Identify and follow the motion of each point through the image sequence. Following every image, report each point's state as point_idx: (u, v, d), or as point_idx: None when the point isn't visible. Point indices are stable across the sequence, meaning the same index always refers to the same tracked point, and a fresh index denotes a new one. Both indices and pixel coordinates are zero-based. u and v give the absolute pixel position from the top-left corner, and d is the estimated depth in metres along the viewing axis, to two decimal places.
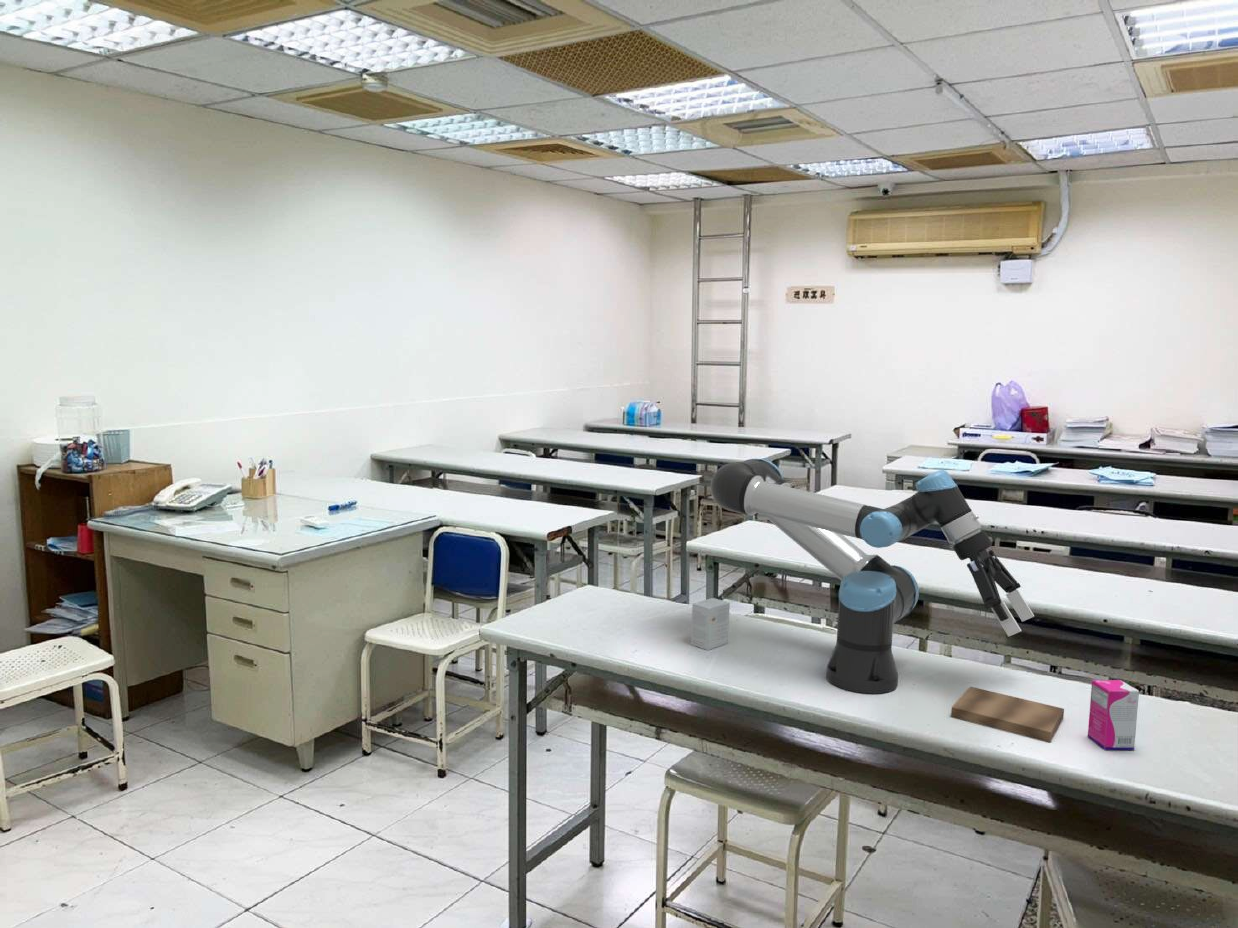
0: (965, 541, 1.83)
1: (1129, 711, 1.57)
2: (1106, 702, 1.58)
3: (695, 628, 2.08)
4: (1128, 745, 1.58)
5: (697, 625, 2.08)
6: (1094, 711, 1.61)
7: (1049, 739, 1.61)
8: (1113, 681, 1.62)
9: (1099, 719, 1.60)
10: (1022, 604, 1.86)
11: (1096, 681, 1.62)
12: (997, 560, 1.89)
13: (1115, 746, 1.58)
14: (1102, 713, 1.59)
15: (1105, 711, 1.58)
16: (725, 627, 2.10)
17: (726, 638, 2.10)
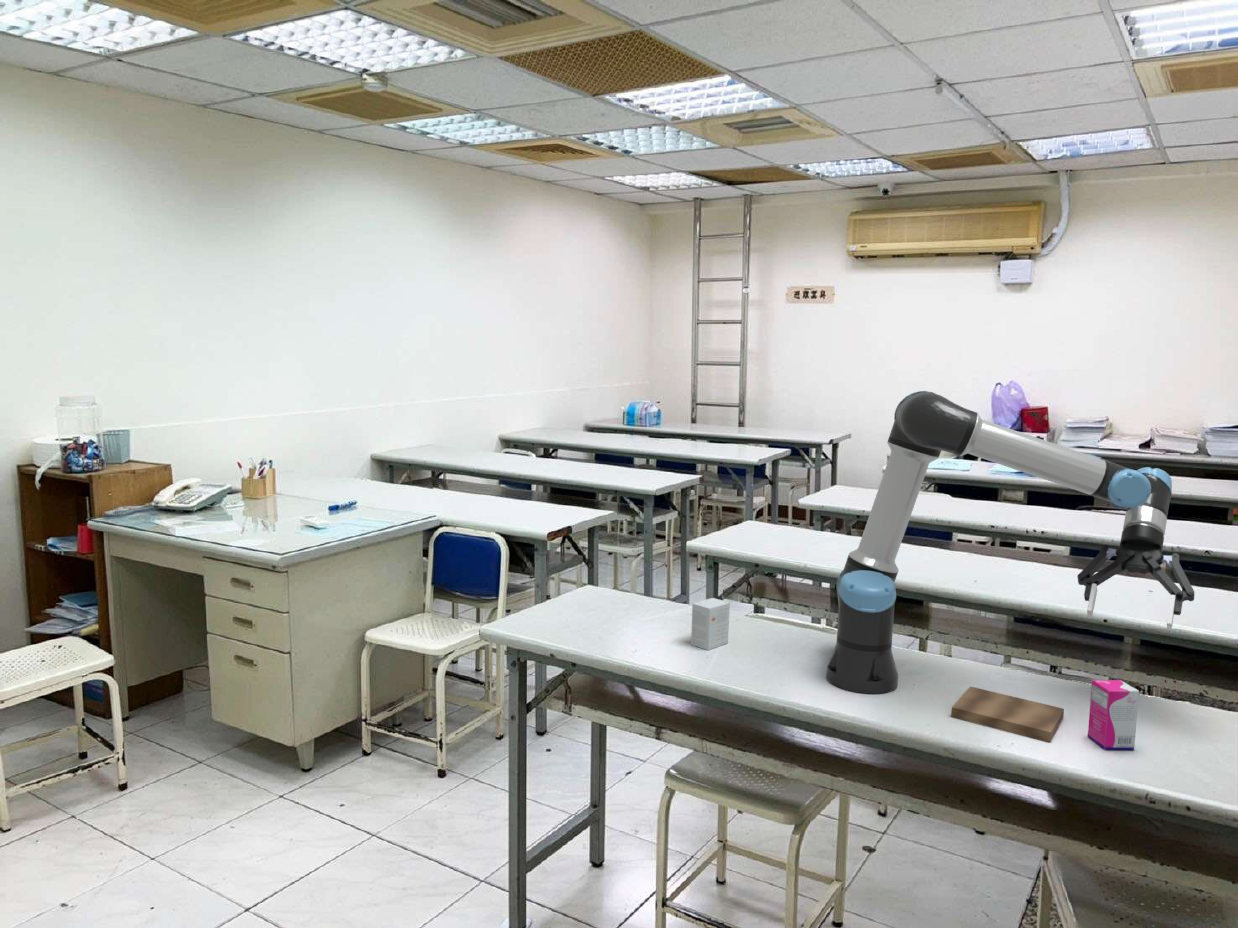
0: None
1: (1129, 711, 1.57)
2: (1106, 702, 1.58)
3: (695, 628, 2.08)
4: (1128, 745, 1.58)
5: (697, 625, 2.08)
6: (1094, 711, 1.61)
7: (1049, 739, 1.61)
8: (1113, 681, 1.62)
9: (1099, 719, 1.60)
10: (1094, 602, 1.75)
11: (1096, 681, 1.62)
12: (1104, 561, 1.80)
13: (1115, 746, 1.58)
14: (1102, 713, 1.59)
15: (1105, 711, 1.58)
16: (725, 627, 2.10)
17: (726, 638, 2.10)
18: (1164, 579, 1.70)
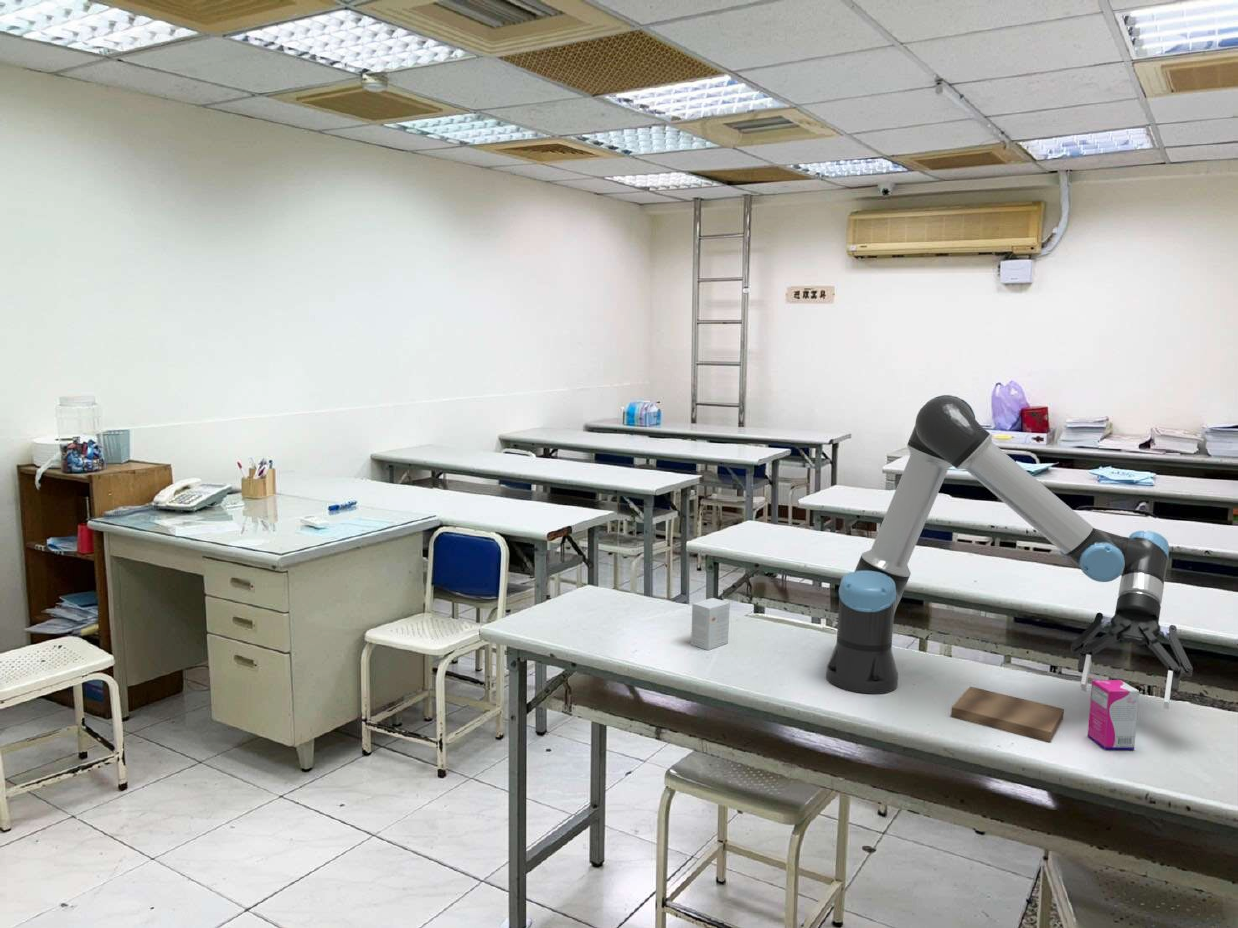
0: None
1: (1129, 711, 1.57)
2: (1106, 702, 1.58)
3: (695, 628, 2.08)
4: (1128, 745, 1.58)
5: (697, 625, 2.08)
6: (1094, 711, 1.61)
7: (1049, 739, 1.61)
8: (1113, 681, 1.62)
9: (1099, 719, 1.60)
10: (1088, 674, 1.68)
11: (1096, 681, 1.62)
12: None
13: (1115, 746, 1.58)
14: (1102, 713, 1.59)
15: (1105, 711, 1.58)
16: (725, 627, 2.10)
17: (726, 638, 2.10)
18: (1161, 653, 1.63)
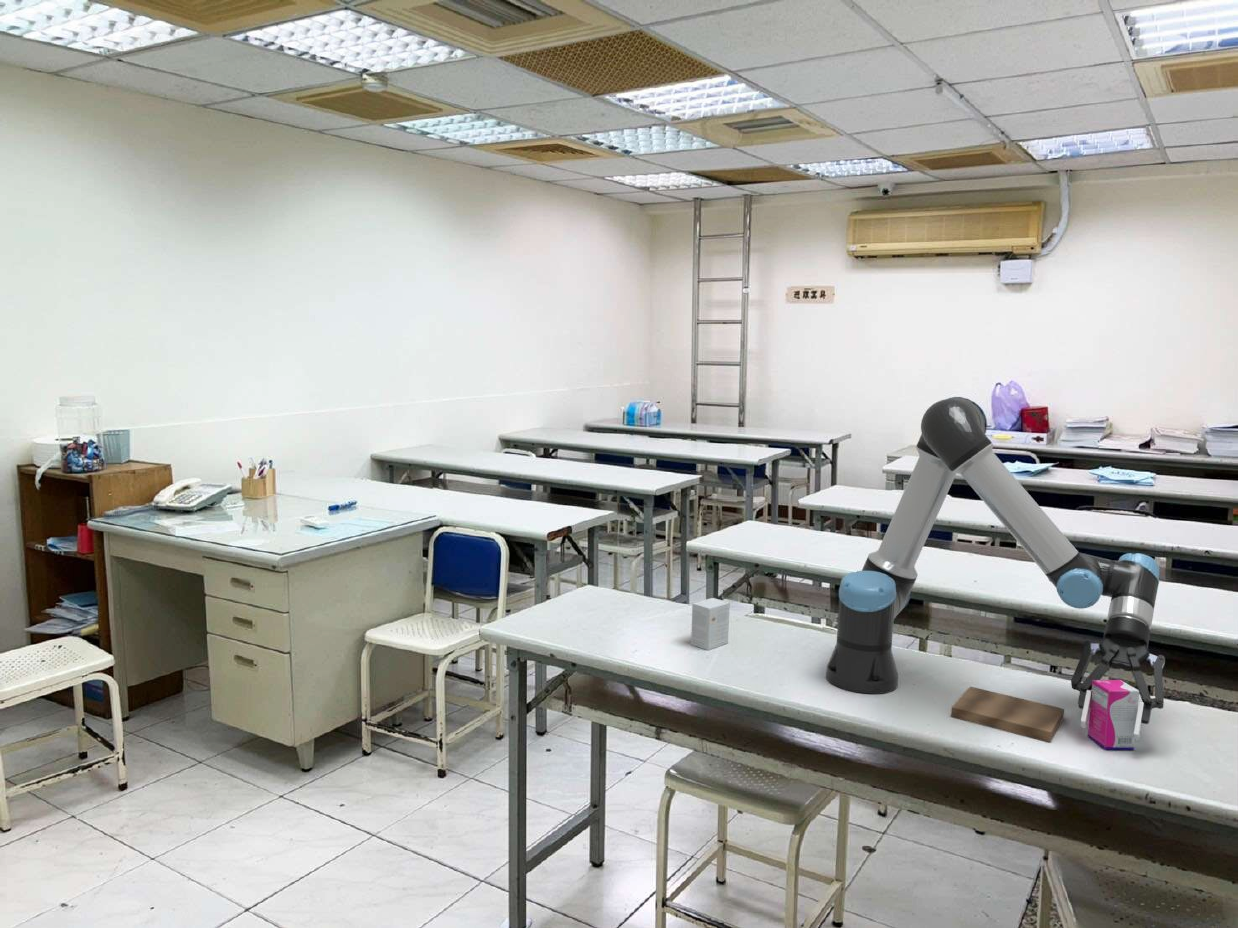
0: None
1: (1129, 711, 1.57)
2: (1106, 702, 1.58)
3: (695, 628, 2.08)
4: (1128, 745, 1.58)
5: (697, 625, 2.08)
6: (1094, 711, 1.61)
7: (1049, 739, 1.61)
8: (1113, 681, 1.62)
9: (1099, 719, 1.60)
10: (1088, 711, 1.62)
11: (1096, 681, 1.62)
12: None
13: (1115, 746, 1.58)
14: (1102, 713, 1.59)
15: (1105, 711, 1.58)
16: (725, 627, 2.10)
17: (726, 638, 2.10)
18: (1138, 682, 1.60)
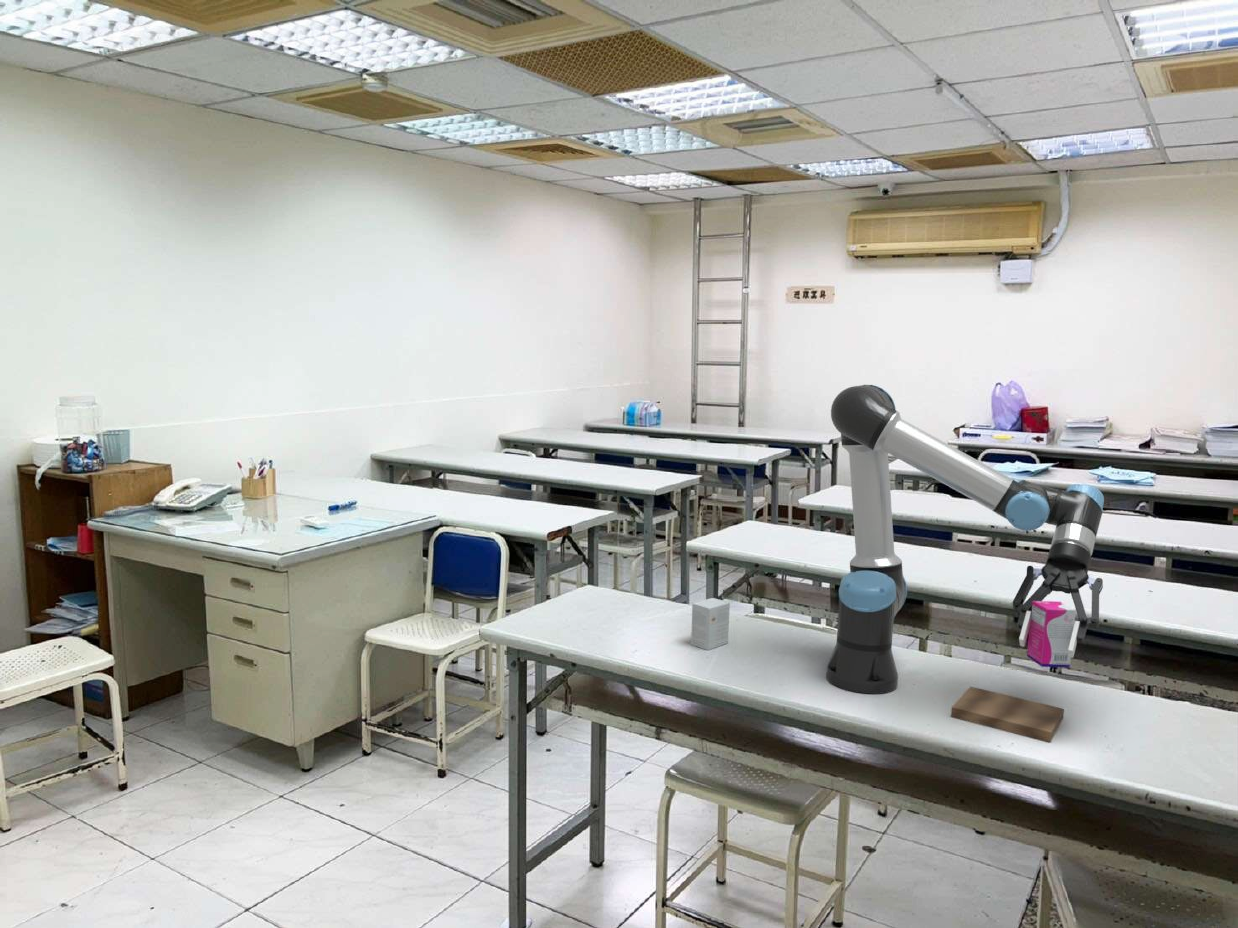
0: None
1: (1066, 629, 1.63)
2: (1043, 620, 1.63)
3: (695, 628, 2.08)
4: (1064, 662, 1.63)
5: (697, 625, 2.08)
6: (1033, 631, 1.67)
7: (1049, 739, 1.61)
8: (1052, 602, 1.67)
9: (1037, 637, 1.65)
10: (1027, 630, 1.67)
11: (1036, 601, 1.67)
12: None
13: (1051, 663, 1.63)
14: (1040, 631, 1.64)
15: (1042, 629, 1.63)
16: (725, 627, 2.10)
17: (726, 638, 2.10)
18: (1076, 603, 1.65)
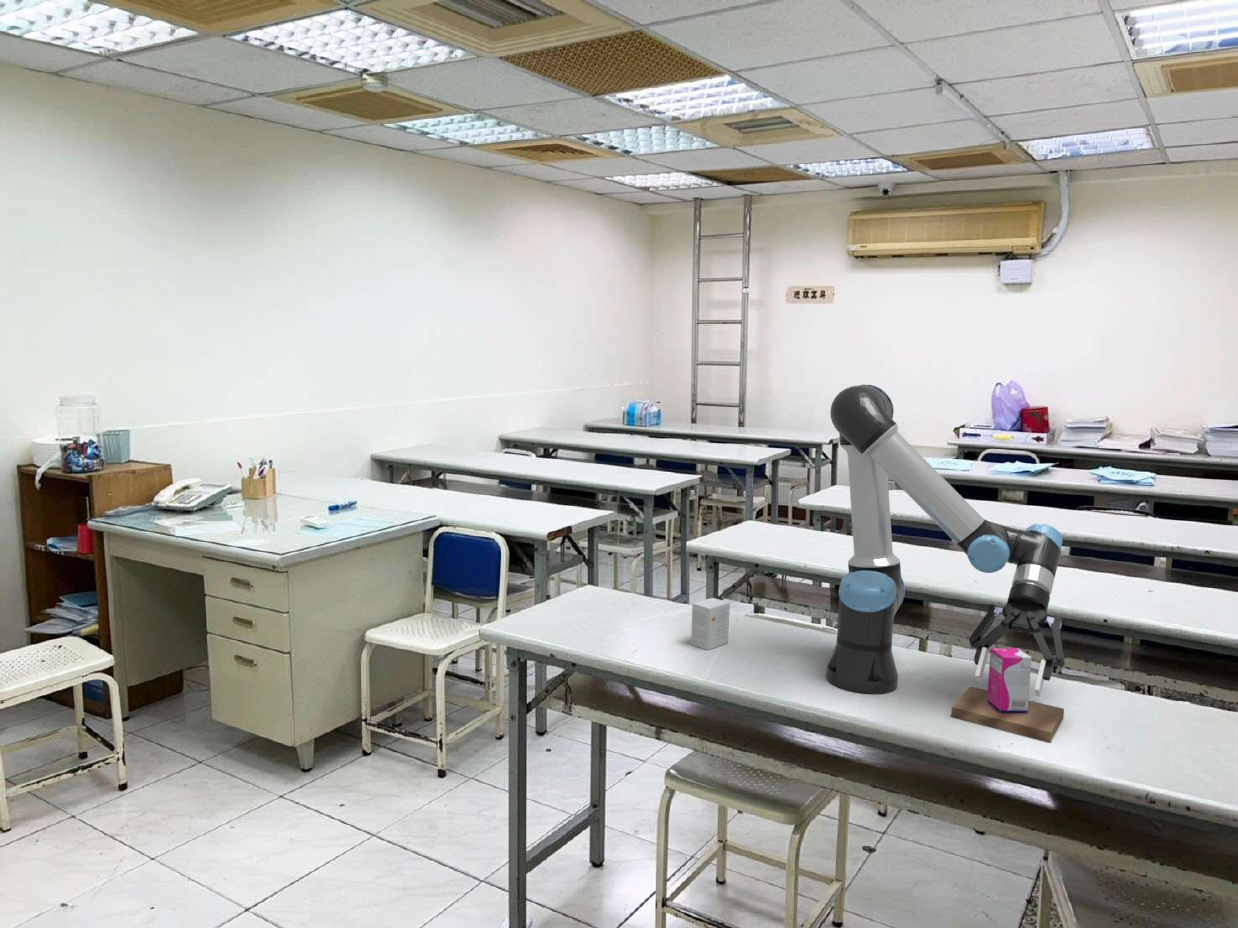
0: None
1: (1022, 676, 1.68)
2: (1001, 668, 1.68)
3: (695, 628, 2.08)
4: (1022, 708, 1.69)
5: (697, 625, 2.08)
6: (992, 677, 1.72)
7: (1049, 739, 1.61)
8: (1010, 649, 1.72)
9: (996, 684, 1.70)
10: (983, 666, 1.73)
11: (994, 649, 1.72)
12: None
13: (1009, 709, 1.68)
14: (998, 678, 1.69)
15: (1000, 676, 1.69)
16: (725, 627, 2.10)
17: (726, 638, 2.10)
18: (1040, 642, 1.70)
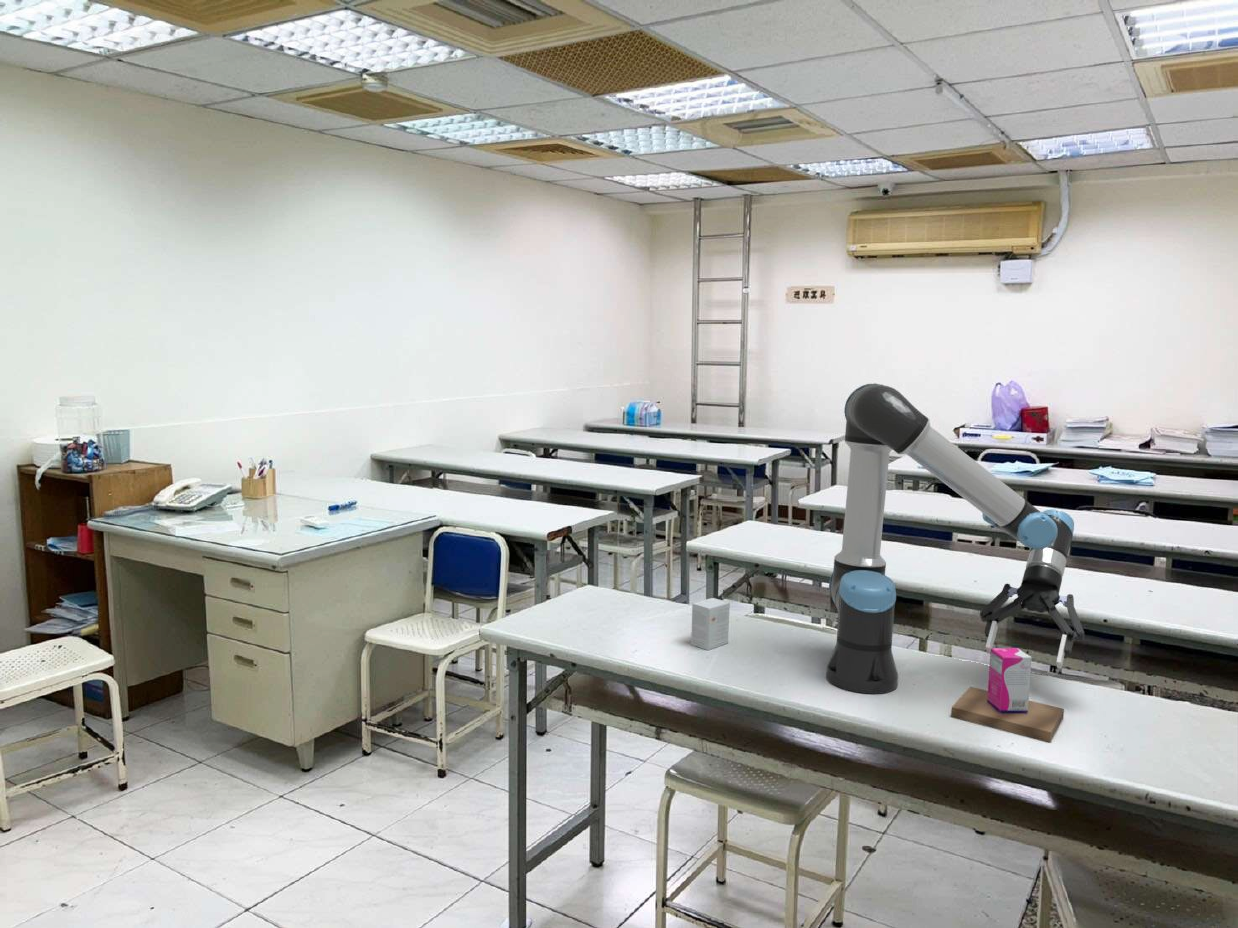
0: (1061, 579, 1.86)
1: (1022, 676, 1.68)
2: (1001, 668, 1.68)
3: (695, 628, 2.08)
4: (1022, 708, 1.69)
5: (697, 625, 2.08)
6: (992, 677, 1.72)
7: (1049, 739, 1.61)
8: (1010, 649, 1.72)
9: (996, 684, 1.70)
10: (993, 639, 1.84)
11: (994, 649, 1.72)
12: None
13: (1009, 709, 1.68)
14: (998, 678, 1.69)
15: (1000, 676, 1.69)
16: (725, 627, 2.10)
17: (726, 638, 2.10)
18: (1058, 619, 1.79)
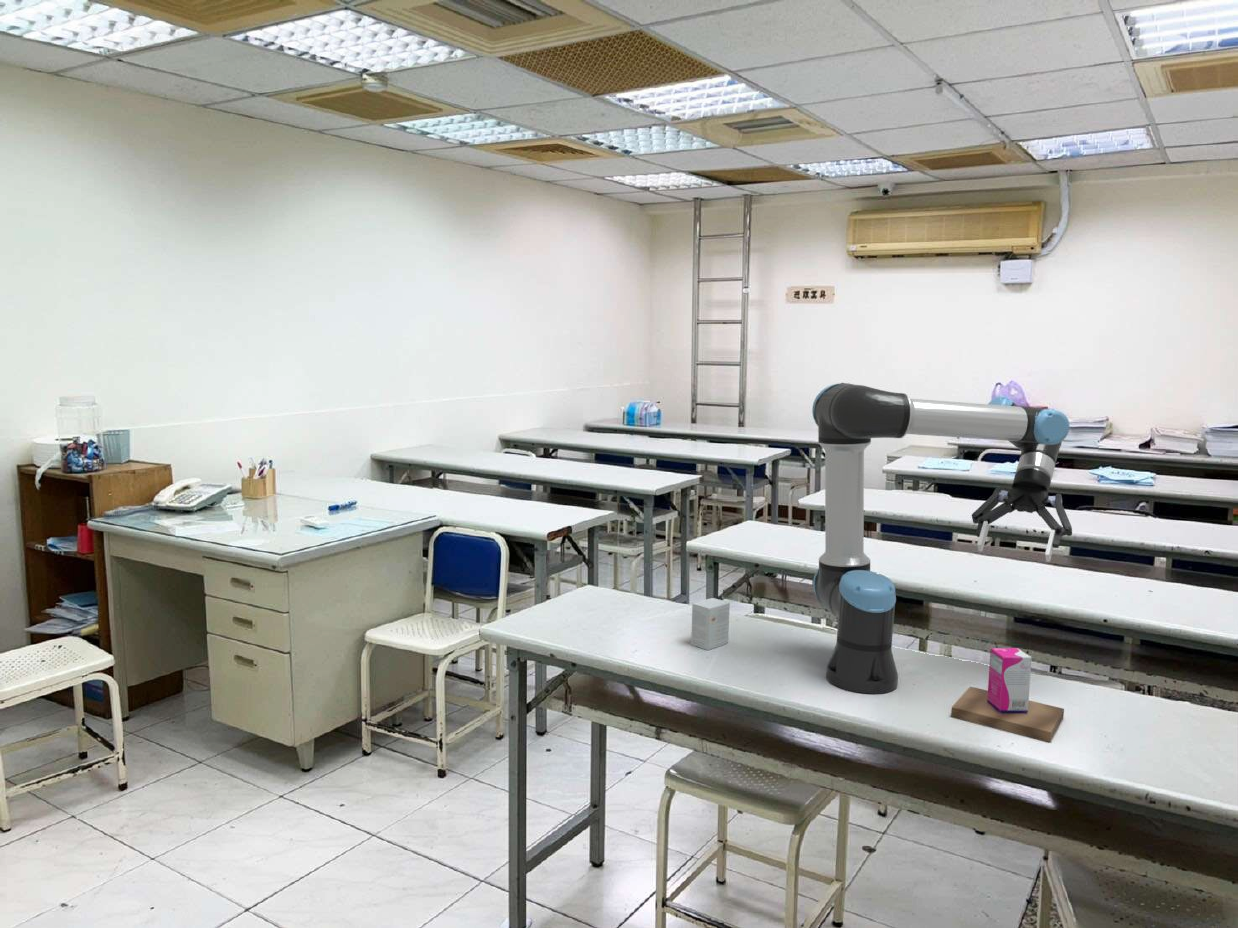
0: None
1: (1022, 676, 1.68)
2: (1001, 668, 1.68)
3: (695, 628, 2.08)
4: (1022, 708, 1.69)
5: (697, 625, 2.08)
6: (992, 677, 1.72)
7: (1049, 739, 1.61)
8: (1010, 649, 1.72)
9: (996, 684, 1.70)
10: (985, 538, 1.91)
11: (994, 649, 1.72)
12: (997, 502, 1.96)
13: (1009, 709, 1.68)
14: (998, 678, 1.69)
15: (1000, 676, 1.69)
16: (725, 627, 2.10)
17: (726, 638, 2.10)
18: (1047, 517, 1.86)
